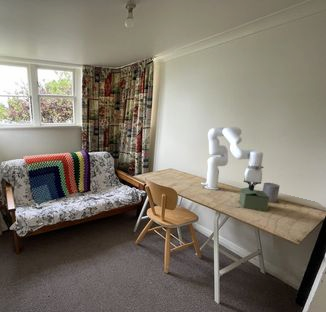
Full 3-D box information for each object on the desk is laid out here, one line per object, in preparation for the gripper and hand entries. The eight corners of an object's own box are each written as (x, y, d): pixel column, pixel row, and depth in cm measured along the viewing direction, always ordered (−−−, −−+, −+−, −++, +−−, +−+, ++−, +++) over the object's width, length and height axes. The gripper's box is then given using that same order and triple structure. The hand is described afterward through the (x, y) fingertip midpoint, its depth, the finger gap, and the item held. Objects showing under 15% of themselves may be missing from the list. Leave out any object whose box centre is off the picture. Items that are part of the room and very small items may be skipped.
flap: (245, 194, 145) (245, 194, 145) (241, 188, 156) (241, 188, 156) (257, 193, 142) (256, 192, 142) (251, 187, 153) (251, 187, 153)
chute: (243, 207, 147) (245, 194, 145) (239, 201, 158) (241, 188, 156) (266, 211, 141) (269, 197, 139) (260, 204, 152) (262, 190, 150)
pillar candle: (259, 196, 166) (262, 180, 163) (274, 198, 161) (277, 182, 158) (263, 201, 158) (266, 184, 155) (278, 203, 153) (282, 185, 150)
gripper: (265, 167, 145) (261, 189, 148) (241, 165, 151) (238, 187, 155) (269, 169, 138) (265, 193, 141) (243, 167, 144) (240, 190, 148)
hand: (250, 189), depth 148 cm, fingers closed
